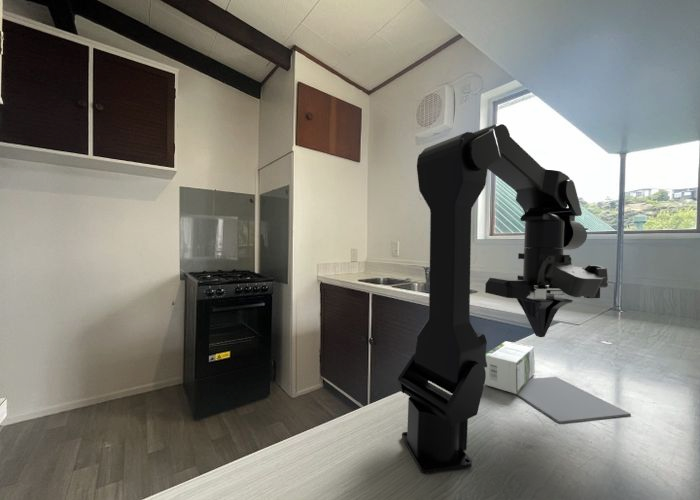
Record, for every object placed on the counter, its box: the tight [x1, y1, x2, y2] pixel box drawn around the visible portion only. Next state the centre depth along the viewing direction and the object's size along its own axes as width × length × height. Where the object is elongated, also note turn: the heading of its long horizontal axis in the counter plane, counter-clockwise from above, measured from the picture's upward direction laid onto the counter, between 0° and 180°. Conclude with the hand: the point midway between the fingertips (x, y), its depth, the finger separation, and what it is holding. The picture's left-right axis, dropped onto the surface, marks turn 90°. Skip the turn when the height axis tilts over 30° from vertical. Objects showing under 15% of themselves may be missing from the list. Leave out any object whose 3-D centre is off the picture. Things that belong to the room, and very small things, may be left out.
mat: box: [513, 376, 632, 424], centre depth 50 cm, size 14×13×1 cm
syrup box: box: [484, 340, 536, 395], centre depth 56 cm, size 6×6×14 cm
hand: (539, 336), depth 49 cm, fingers closed
